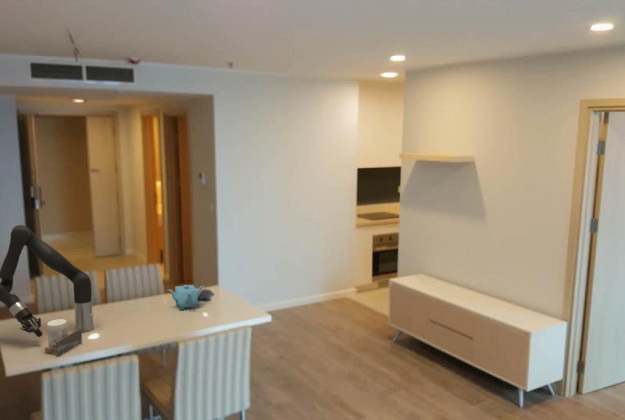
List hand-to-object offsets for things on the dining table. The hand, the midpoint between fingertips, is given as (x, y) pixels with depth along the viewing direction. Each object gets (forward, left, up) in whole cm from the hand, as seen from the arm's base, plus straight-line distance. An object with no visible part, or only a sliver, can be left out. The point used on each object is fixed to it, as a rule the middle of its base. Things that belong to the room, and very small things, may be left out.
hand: (40, 335), depth 277 cm
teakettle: (-87, -24, -6) cm, 90 cm away
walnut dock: (-10, +10, -6) cm, 15 cm away
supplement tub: (-8, +8, -6) cm, 12 cm away
